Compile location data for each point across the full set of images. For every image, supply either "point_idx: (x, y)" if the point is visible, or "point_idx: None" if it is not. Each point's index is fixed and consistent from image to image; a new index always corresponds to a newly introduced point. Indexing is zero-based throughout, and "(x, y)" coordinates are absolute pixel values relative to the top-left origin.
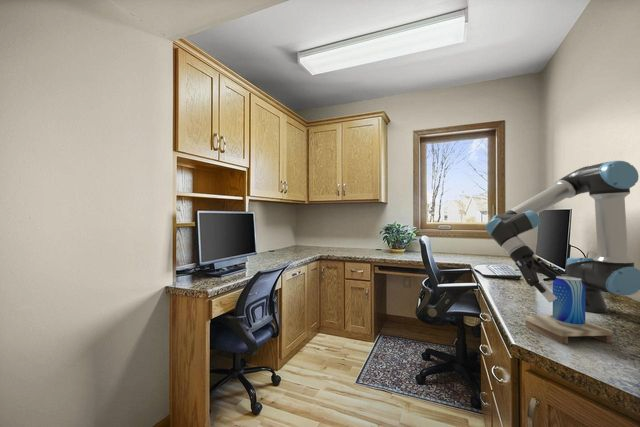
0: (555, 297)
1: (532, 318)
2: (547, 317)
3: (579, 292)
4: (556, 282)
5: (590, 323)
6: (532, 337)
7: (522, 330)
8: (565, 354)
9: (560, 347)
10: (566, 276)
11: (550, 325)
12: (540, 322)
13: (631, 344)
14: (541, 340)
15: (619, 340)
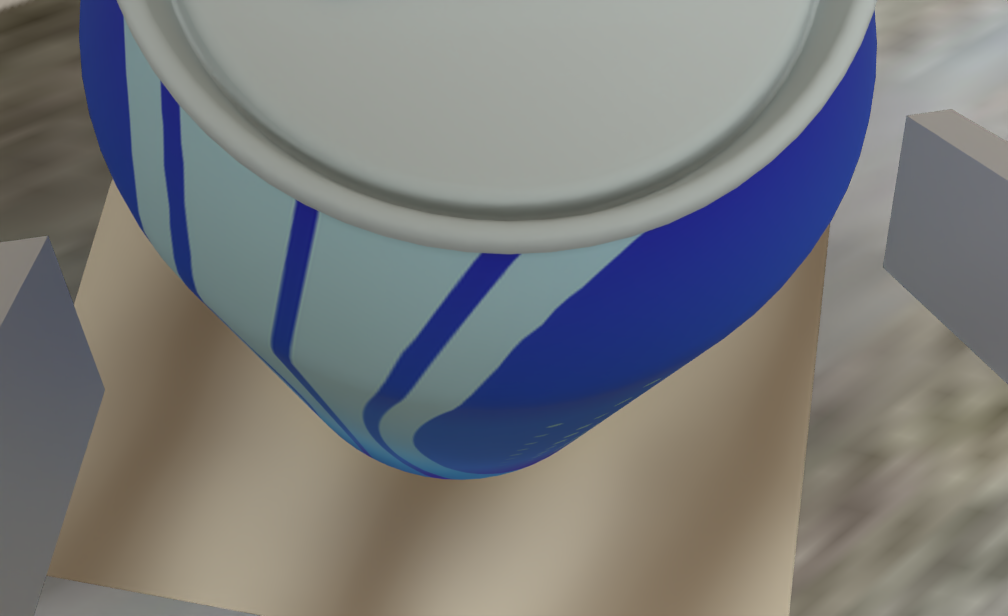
0: (955, 121)
1: (768, 601)
2: (486, 577)
3: None
4: (855, 121)
5: (123, 240)
6: (939, 410)
7: (875, 600)
8: (967, 61)
9: (871, 164)
10: (202, 81)
11: (774, 331)
12: (805, 446)
13: (42, 13)
14: (910, 327)
15: (30, 103)
